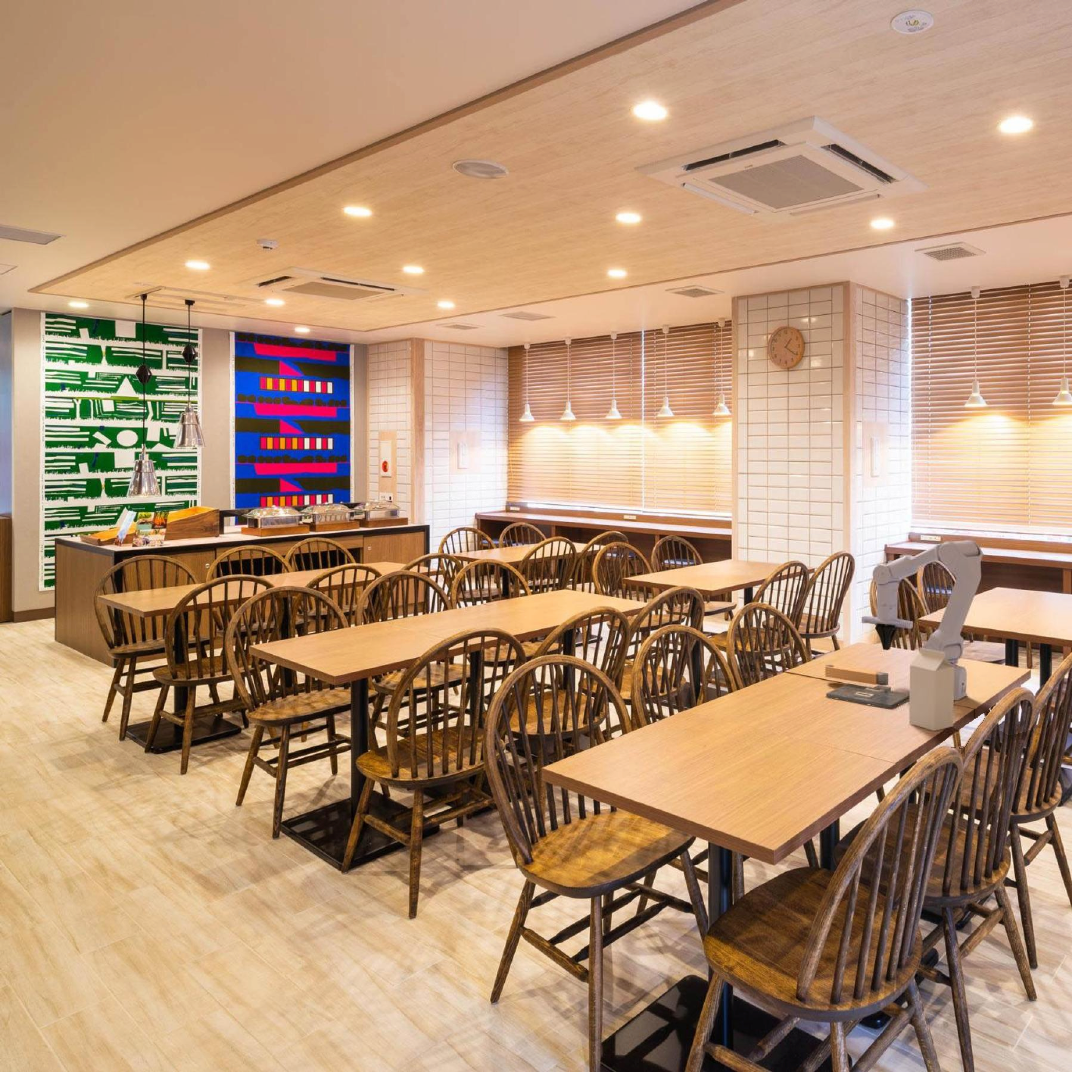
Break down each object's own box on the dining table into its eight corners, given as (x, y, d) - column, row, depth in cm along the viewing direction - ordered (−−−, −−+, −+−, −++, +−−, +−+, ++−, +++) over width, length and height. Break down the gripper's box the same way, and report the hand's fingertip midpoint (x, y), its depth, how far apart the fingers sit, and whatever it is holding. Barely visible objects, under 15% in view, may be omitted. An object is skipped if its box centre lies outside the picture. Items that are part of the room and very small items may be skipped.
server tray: (916, 695, 232) (916, 689, 232) (890, 708, 220) (890, 703, 220) (854, 684, 245) (854, 679, 245) (826, 696, 232) (826, 691, 232)
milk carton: (934, 731, 200) (935, 654, 199) (908, 724, 207) (910, 649, 205) (953, 726, 204) (954, 651, 202) (927, 719, 210) (929, 645, 208)
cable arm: (890, 683, 237) (890, 673, 237) (885, 686, 235) (885, 675, 234) (828, 673, 250) (828, 663, 250) (823, 676, 247) (823, 666, 247)
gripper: (857, 603, 249) (857, 648, 250) (906, 608, 239) (905, 655, 240) (867, 600, 254) (867, 644, 255) (915, 605, 244) (915, 651, 245)
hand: (886, 649), depth 248 cm, fingers closed
